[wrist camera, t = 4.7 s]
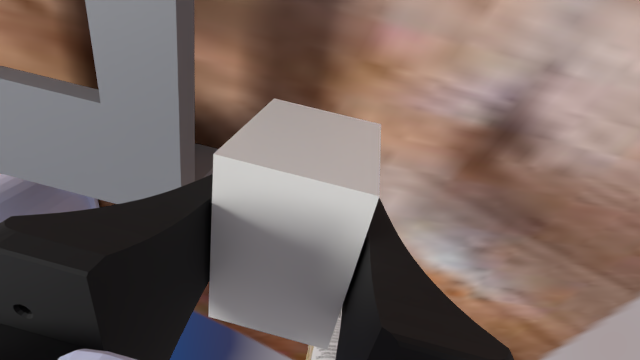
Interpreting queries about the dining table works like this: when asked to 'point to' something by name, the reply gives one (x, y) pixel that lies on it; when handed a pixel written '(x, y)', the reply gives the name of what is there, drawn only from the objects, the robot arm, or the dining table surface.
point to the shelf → (112, 109)
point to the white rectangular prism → (291, 219)
